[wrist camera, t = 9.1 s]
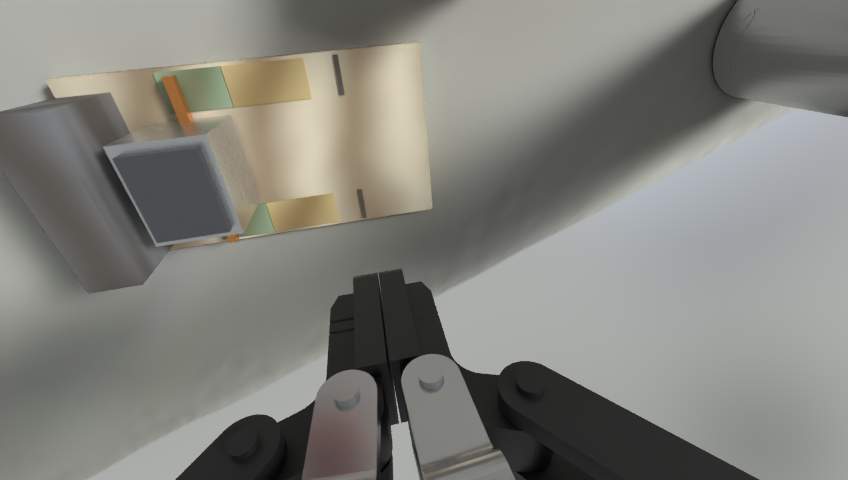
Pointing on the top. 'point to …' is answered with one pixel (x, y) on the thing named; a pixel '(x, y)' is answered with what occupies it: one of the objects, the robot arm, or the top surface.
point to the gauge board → (259, 136)
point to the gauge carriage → (186, 175)
